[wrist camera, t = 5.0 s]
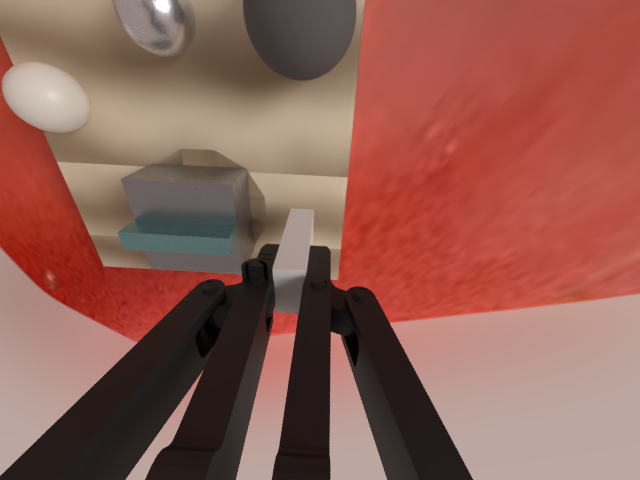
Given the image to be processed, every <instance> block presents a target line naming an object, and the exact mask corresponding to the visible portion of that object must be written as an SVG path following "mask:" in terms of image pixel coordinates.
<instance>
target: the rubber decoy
mask: <svg viewBox="0 0 640 480" xmlns="http://www.w3.org/2000/svg"><path fill="white" fill-rule="evenodd" d="M243 14H244V21H245V25H246V30H247V32H248V35H249V38H250V41H251V43H252V45H253V47H254V49H255V50H256V52H257V54H258V55H259V57H260V58H261V59H262V60H263V62H264V63H265V64H266V65H267V66H268V67H270V68H271V69H272V70H273V71H275V72H276V73H278V74H279V75H281V76H284V77H286V78H289V79H292V80H299V81H307V80H313V79H316V78H319V77H321V76H323V75H325V74H327V73H328V72H329V71H331V70H332V69H333V68H334V67H335V66H336V65H337V64H338V63H339V62H340V61H341V60H342V58H343V57H344V55H345V53H346V52H347V50H348V48H349V46H350V43H351V40H352V38H353V34H354V30H355V24H356V0H243Z"/></svg>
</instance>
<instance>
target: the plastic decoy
mask: <svg viewBox="0 0 640 480" xmlns="http://www.w3.org/2000/svg"><path fill="white" fill-rule="evenodd" d="M2 93H3V96H4V99H5V101H6V102H7V104H8V106H9V107H10V108H11V110H12V111H13V112H14V113H15V114H16V115H17V116H18V117H20V118H21V119H22V120H23V121H25V122H26V123H28V124H30V125H32V126H34V127H36V128H38V129H41V130H44V131H48V132H53V133H67V132H72V131H75V130H77V129H79V128H81V127H82V126H83V125H84V124H85V123H86V122H87V121H88V119H89V117H90V112H91V105H90V101H89V98H88V95H87V93H86V92H85V90H84V88H83V87H82V86H81V85H80V83H79V82H78V81H77V80H75V79H74V78H73V77H72V76H71V75H69V74H68V73H66V72H65V71H63V70H61V69H59V68H57V67H55V66H52V65H49V64H46V63H41V62H23V63H19V64H17V65H14V66H12V67H11V68H10V69H9V70H8V71H7V72H6V73H5V75H4V77H3V79H2Z"/></svg>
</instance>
